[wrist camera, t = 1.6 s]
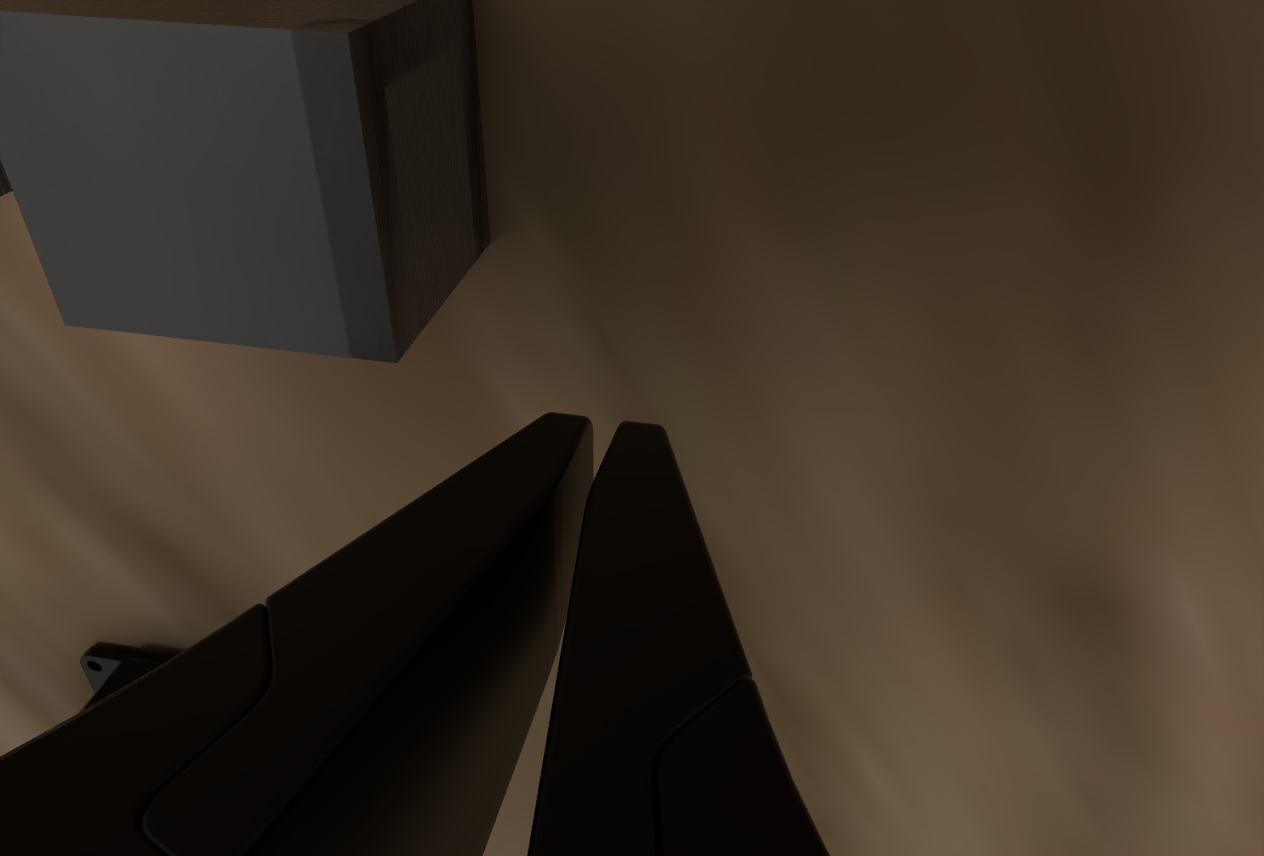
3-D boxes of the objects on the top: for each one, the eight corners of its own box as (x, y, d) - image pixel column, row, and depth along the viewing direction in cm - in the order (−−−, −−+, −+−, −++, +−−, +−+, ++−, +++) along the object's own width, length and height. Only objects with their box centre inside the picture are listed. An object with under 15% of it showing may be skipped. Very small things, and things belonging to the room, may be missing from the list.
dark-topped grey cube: (489, 242, 19) (397, 362, 14) (223, 217, 19) (64, 325, 15) (470, -25, 16) (346, 33, 12) (158, -41, 16) (-59, 7, 12)
